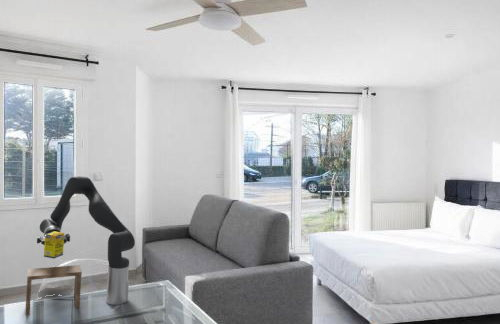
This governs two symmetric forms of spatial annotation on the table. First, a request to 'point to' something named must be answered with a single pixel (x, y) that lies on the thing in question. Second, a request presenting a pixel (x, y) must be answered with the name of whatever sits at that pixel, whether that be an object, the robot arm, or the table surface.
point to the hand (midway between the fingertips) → (54, 242)
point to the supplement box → (54, 244)
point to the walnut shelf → (54, 273)
